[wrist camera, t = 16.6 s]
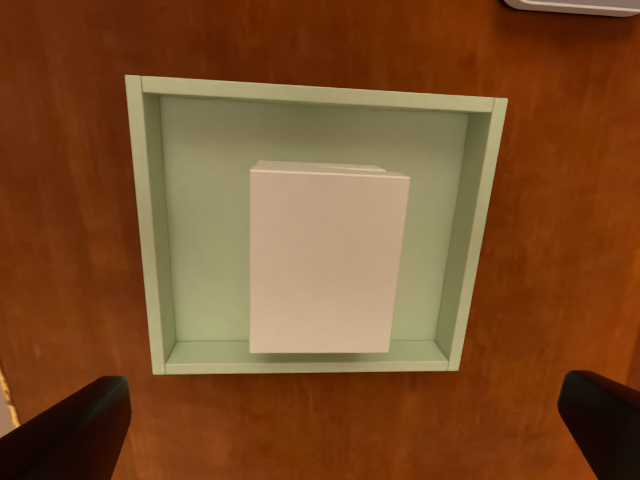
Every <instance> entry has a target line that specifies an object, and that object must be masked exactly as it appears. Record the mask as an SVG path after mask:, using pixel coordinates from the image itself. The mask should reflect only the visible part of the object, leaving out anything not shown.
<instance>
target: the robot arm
mask: <svg viewBox="0 0 640 480" xmlns="http://www.w3.org/2000/svg"><path fill="white" fill-rule="evenodd" d="M557 407H558V411H559V414H560V416H561V418H562V419H563V421H564V423H565V424H566V426H567V428H568V429H569V431H570V433H571V435H572V436H573V438H574V440H575V441H576V443H577V445H578V446H579V448H580V450H581V451H582V453H583V455H584V457H585V458H586V460H587V462H588V463H589V465H590V467H591V468H592V470H593V472H594V474H595V475H596V477H597V479H598V480H640V392H639V391H636V390H634V389H632V388H629V387H627V386H625V385H622V384H620V383H618V382H615V381H613V380H611V379H608V378H606V377H603V376H601V375H599V374H596V373H594V372H592V371H588V370H572V371H569V372H567V374H566V375H565V377H564V380H563V384H562V387H561V391H560V394H559V398H558V402H557ZM130 421H131V403H130V394H129V386H128V381H127V378H126V377H124V376H103V377H100V378H98V379H97V380H95V381H93V382H92V383H90V384H89V385H87V386H85V387H84V388H82V389H80V390H79V391H77V392H75V393H74V394H72V395H70V396H69V397H67V398H65V399H64V400H62V401H61V402H59V403H57V404H56V405H54V406H52V407H51V408H49V409H47V410H46V411H44V412H42V413H41V414H39V415H37V416H36V417H34V418H32V419H31V420H29V421H28V422H26V423H24V424H23V425H21V426H19V427H18V428H16V429H14V430H13V431H11V432H9V433H8V434H6V435H5V436H3V437H1V438H0V480H111V478H112V475H113V472H114V469H115V466H116V463H117V460H118V457H119V454H120V451H121V449H122V446H123V443H124V440H125V437H126V434H127V431H128V428H129V425H130Z"/></svg>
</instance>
